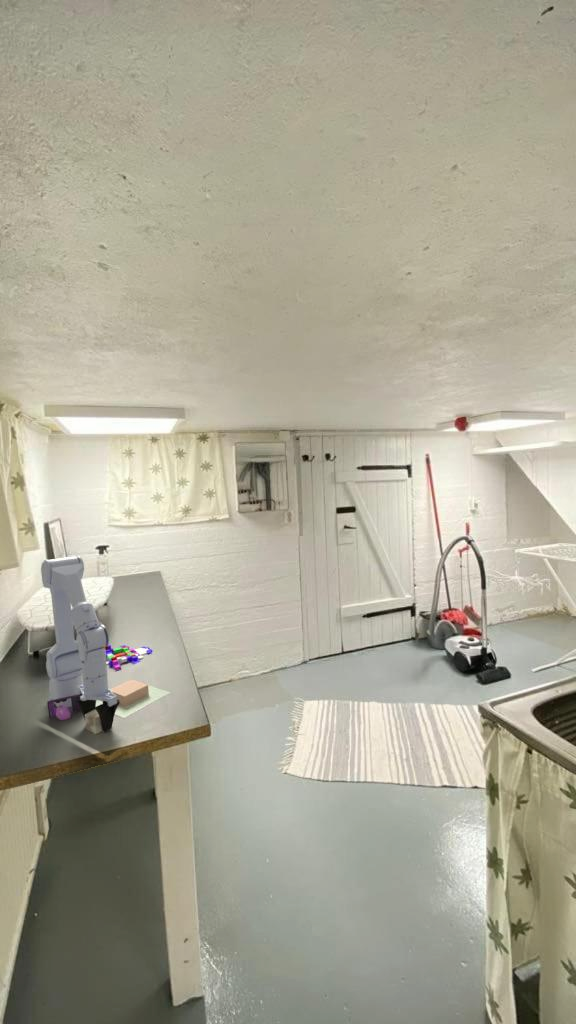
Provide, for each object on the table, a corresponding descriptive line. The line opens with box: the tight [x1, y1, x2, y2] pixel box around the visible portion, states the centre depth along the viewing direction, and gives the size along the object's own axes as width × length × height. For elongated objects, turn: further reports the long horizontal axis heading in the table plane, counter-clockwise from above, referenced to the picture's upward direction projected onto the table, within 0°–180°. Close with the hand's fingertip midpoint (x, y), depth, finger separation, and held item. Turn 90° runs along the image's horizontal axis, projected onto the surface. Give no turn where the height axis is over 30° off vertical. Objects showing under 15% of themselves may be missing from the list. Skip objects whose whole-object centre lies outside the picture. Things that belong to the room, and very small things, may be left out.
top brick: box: [84, 709, 103, 735], centre depth 108 cm, size 4×4×5 cm
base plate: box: [96, 684, 171, 719], centre depth 123 cm, size 18×16×1 cm
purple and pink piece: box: [46, 694, 81, 721], centre depth 113 cm, size 7×5×9 cm
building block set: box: [105, 644, 153, 672], centre depth 159 cm, size 25×20×4 cm
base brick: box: [109, 679, 149, 707], centre depth 123 cm, size 8×8×3 cm
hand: (98, 725), depth 108 cm, fingers open, 7 cm apart
